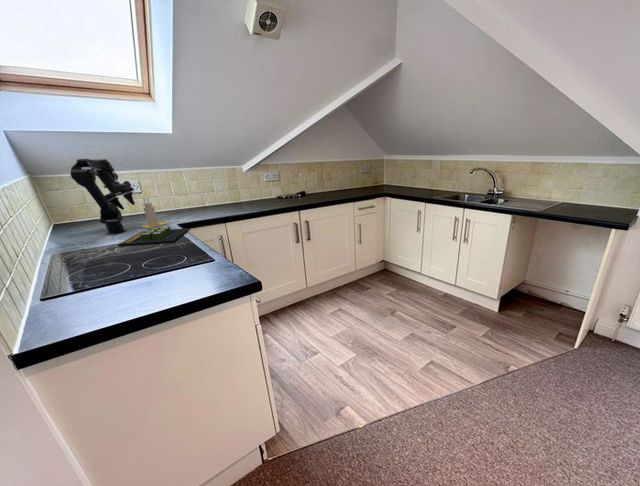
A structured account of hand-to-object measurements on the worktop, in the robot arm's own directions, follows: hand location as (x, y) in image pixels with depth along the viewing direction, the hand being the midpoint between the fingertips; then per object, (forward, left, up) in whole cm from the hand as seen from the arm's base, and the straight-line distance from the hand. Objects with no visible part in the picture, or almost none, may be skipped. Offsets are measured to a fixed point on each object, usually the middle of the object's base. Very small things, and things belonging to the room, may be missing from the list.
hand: (128, 207), depth 178 cm
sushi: (-14, -36, -12) cm, 40 cm away
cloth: (+5, -9, -12) cm, 16 cm away
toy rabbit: (+5, -9, -12) cm, 16 cm away
